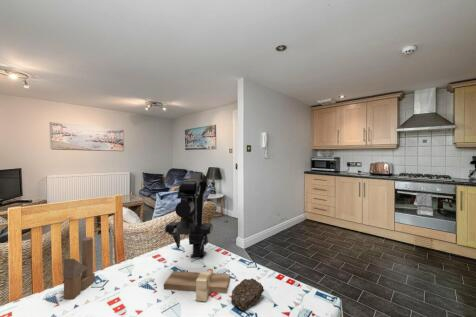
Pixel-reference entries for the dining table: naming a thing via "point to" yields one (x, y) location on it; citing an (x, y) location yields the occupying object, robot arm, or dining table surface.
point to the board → (188, 282)
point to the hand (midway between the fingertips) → (189, 248)
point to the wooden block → (79, 271)
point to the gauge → (203, 285)
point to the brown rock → (246, 293)
